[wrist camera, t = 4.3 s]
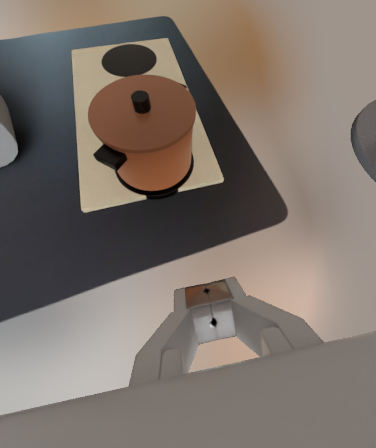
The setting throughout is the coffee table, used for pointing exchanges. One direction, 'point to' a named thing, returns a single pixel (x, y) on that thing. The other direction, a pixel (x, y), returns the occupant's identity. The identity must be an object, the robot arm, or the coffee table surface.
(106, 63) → the burner
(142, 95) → the pot
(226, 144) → the coffee table surface
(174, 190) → the black round disc
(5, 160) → the alarm clock
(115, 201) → the hob
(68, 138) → the coffee table surface
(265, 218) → the coffee table surface
